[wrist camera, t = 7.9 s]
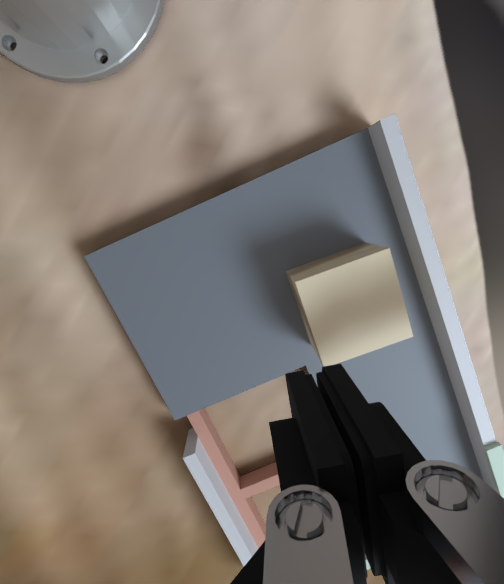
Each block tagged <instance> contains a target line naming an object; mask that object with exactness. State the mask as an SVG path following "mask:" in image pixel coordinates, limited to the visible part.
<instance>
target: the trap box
mask: <svg viewBox="0 0 504 584" xmlns="http://www.w3.org/2000/svg"><path fill="white" fill-rule="evenodd" d="M365 242H366V243H371V244H375V245H379V246H384V247H388V248H390V251H391V255H392V258H393V262H394V266H395V270H396V273H397V277H398V281H399V285H400V288H401V292H402V296H403V299H404V303H405V307H406V311H407V314H408V318H409V322H410V326H411V329H412V333H413V337H411V338H408V339H405V340H403V341H400V342H397V343H394V344H391V345H388V346H386V347H383V348H380V349H377V350H374V351H372V352H369V353H366V354H363V355H360V356H357V357H355V358H352V359H349V360H346V361H343V362H340V363H338V364H341V365H342V366H343V367H344V369H345V370H346V372H347V373H348V375H349V376H350V377H351V379H352V380H353V382H354V383H355V385H356V386H357V387H358V389H359V390H360V392H361V393H362V395H363V396H364V398H365V399H366V400H367V402H368V403H374V402H381V403H382V404H383V405H384V406H385V407H386V409H387V410H388V411H389V413H390V414H391V415H392V416H393V418H394V419H395V420H396V422H397V423H398V424H399V426H400V427H401V428H402V430H403V431H404V432H405V433H406V435H407V436H408V437H409V439H410V440H411V441H412V443H413V444H414V445H415V446H416V448H417V449H418V450H419V452H420V453H421V454H422V456H423V457H424V458H425V459H426V461H428V460H443V461H448V462H452V463H456V464H458V465H460V466H463V467H465V468H467V469H469V470H470V471H471V472H473V473H474V474H476V475H477V476H478V477H480V478H481V479H482V480H483V481H484V482H485V483H486V484H488V485H489V486H490V487H491V488H492V489H493V490H495V491H496V492H497V493H498V494H499V495H500V496H502V497H503V498H504V451H503V447H502V445H501V444H500V443H499V442H496V438H495V435H494V432H493V429H492V425H491V422H490V419H489V416H488V413H487V409H486V406H485V403H484V400H483V396H482V393H481V390H480V387H479V383H478V380H477V377H476V374H475V370H474V367H473V364H472V361H471V357H470V354H469V351H468V348H467V344H466V341H465V338H464V335H463V331H462V328H461V325H460V322H459V318H458V315H457V312H456V309H455V305H454V302H453V299H452V296H451V292H450V289H449V286H448V283H447V279H446V276H445V273H444V270H443V266H442V263H441V260H440V257H439V253H438V250H437V247H436V244H435V240H434V237H433V234H432V231H431V227H430V224H429V221H428V218H427V214H426V211H425V208H424V205H423V201H422V198H421V195H420V192H419V189H418V185H417V182H416V179H415V176H414V172H413V169H412V166H411V163H410V159H409V156H408V153H407V150H406V146H405V143H404V140H403V137H402V133H401V130H400V127H399V124H398V120H397V117H396V114H393V115H390V116H388V117H386V118H384V119H382V120H379V121H378V122H376V123H375V124H373V125H372V126H370V127H368V128H367V129H364V130H362V131H360V132H358V133H355V134H353V135H351V136H349V137H347V138H344V139H342V140H340V141H338V142H336V143H333V144H331V145H329V146H327V147H325V148H322V149H320V150H318V151H316V152H313V153H311V154H309V155H307V156H305V157H302V158H300V159H298V160H296V161H294V162H291V163H289V164H287V165H285V166H283V167H280V168H278V169H276V170H274V171H271V172H269V173H267V174H265V175H263V176H260V177H258V178H256V179H254V180H252V181H249V182H247V183H245V184H243V185H241V186H238V187H236V188H234V189H232V190H229V191H227V192H225V193H223V194H221V195H218V196H216V197H214V198H212V199H210V200H207V201H205V202H203V203H201V204H199V205H196V206H194V207H192V208H190V209H187V210H185V211H183V212H181V213H179V214H176V215H174V216H172V217H170V218H168V219H165V220H163V221H161V222H159V223H157V224H154V225H152V226H150V227H148V228H145V229H143V230H141V231H139V232H137V233H134V234H132V235H130V236H128V237H126V238H123V239H121V240H119V241H117V242H115V243H112V244H110V245H108V246H106V247H103V248H101V249H99V250H97V251H95V252H92V253H90V254H88V255H86V256H84V257H85V259H86V261H87V263H88V264H89V266H90V268H91V270H92V272H93V274H94V275H95V277H96V279H97V281H98V283H99V284H100V286H101V288H102V290H103V292H104V293H105V295H106V297H107V299H108V301H109V302H110V304H111V306H112V308H113V310H114V311H115V313H116V315H117V317H118V319H119V320H120V322H121V324H122V326H123V328H124V329H125V331H126V333H127V335H128V337H129V338H130V340H131V342H132V344H133V346H134V348H135V349H136V351H137V353H138V355H139V357H140V358H141V360H142V362H143V364H144V366H145V367H146V369H147V371H148V373H149V375H150V376H151V378H152V380H153V382H154V384H155V385H156V387H157V389H158V391H159V393H160V394H161V396H162V398H163V400H164V402H165V403H166V405H167V407H168V409H169V411H170V412H171V414H172V416H173V418H174V420H178V419H180V418H182V417H185V416H187V417H188V419H189V421H190V423H191V425H192V426H193V428H191V429H189V431H188V436H187V440H186V445H185V450H184V454H183V460H184V462H185V463H186V465H187V467H188V469H189V470H190V472H191V474H192V476H193V478H194V479H195V481H196V483H197V485H198V486H199V488H200V490H201V492H202V493H203V495H204V497H205V499H206V501H207V502H208V504H209V506H210V508H211V509H212V511H213V513H214V515H215V517H216V518H217V520H218V522H219V524H220V525H221V527H222V529H223V531H224V532H225V534H226V536H227V538H228V540H229V541H230V543H231V545H232V547H233V548H234V550H235V552H236V554H237V555H238V557H239V559H240V561H241V563H242V564H243V566H245V565H246V564H247V562H248V561H249V560H250V559H251V557H252V556H253V555H254V554H255V552H256V551H257V550H258V549H259V547H260V546H261V545H262V544H263V542H264V541H265V538H266V525H265V523H264V521H263V519H262V517H261V515H260V513H259V511H258V509H257V508H256V506H255V504H254V502H253V500H252V498H251V496H254V495H256V494H259V493H261V492H263V491H266V490H268V489H271V488H273V487H276V486H278V485H280V483H279V477H278V471H277V465H276V462H274V463H271V464H269V465H267V466H264V467H262V468H259V469H257V470H254V471H252V472H250V473H247V474H245V475H242V476H240V475H239V473H238V471H237V470H236V468H235V466H234V464H233V462H232V460H231V458H230V456H229V454H228V452H227V451H226V449H225V447H224V445H223V443H222V441H221V439H220V437H219V435H218V433H217V432H216V430H215V428H214V426H213V424H212V422H211V420H210V418H209V416H208V414H207V413H206V411H205V409H204V408H206V407H208V406H211V405H213V404H215V403H218V402H220V401H223V400H225V399H227V398H230V397H232V396H234V395H237V394H239V393H242V392H244V391H246V390H249V389H251V388H253V387H256V386H258V385H260V384H263V383H265V382H268V381H270V380H272V379H275V378H277V377H279V376H282V375H284V374H286V373H289V372H291V371H294V370H296V369H298V368H301V367H303V366H306V368H307V370H308V373H309V374H312V376H313V378H314V380H315V382H316V385H317V378H316V373H318V372H322V367H323V365H322V363H321V362H320V360H319V358H318V356H317V355H316V353H315V351H314V349H313V348H312V346H311V343H310V340H309V338H308V335H307V332H306V329H305V326H304V323H303V320H302V317H301V314H300V311H299V308H298V306H297V303H296V300H295V297H294V294H293V291H292V288H291V285H290V282H289V279H288V276H287V274H286V271H288V270H291V269H294V268H296V267H299V266H302V265H305V264H307V263H310V262H313V261H316V260H318V259H321V258H324V257H327V256H329V255H332V254H335V253H338V252H340V251H343V250H346V249H349V248H351V247H354V246H357V245H359V244H362V243H365ZM317 387H318V385H317ZM365 559H366V568H367V570H368V569H370V565H369V563H368V560H367V557H366V555H365Z"/></svg>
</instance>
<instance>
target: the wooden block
mask: <svg viewBox="0 0 504 584" xmlns="http://www.w3.org/2000/svg"><path fill="white" fill-rule="evenodd" d="M286 274H287V276H288V279H289V282H290V285H291V288H292V291H293V294H294V297H295V300H296V303H297V306H298V308H299V311H300V314H301V317H302V320H303V323H304V326H305V329H306V332H307V335H308V338H309V340H310V343H311V346H312V348H313V349H314V351H315V353H316V355H317V356H318V358H319V360H320V362H321V363H322V365H323V367H324V366H329V365H335V364H338V363H340V362H343V361H346V360H349V359H352V358H355V357H357V356H360V355H363V354H366V353H369V352H372V351H374V350H377V349H380V348H383V347H386V346H388V345H391V344H394V343H397V342H400V341H403V340H405V339H408V338H411V337H413V333H412V329H411V326H410V322H409V318H408V314H407V311H406V307H405V303H404V299H403V296H402V292H401V288H400V285H399V281H398V277H397V273H396V270H395V266H394V262H393V258H392V255H391V251H390V248H388V247H384V246H379V245H375V244H371V243H366V242H365V243H362V244H359V245H357V246H354V247H351V248H349V249H346V250H343V251H340V252H338V253H335V254H332V255H329V256H327V257H324V258H321V259H318V260H316V261H313V262H310V263H307V264H305V265H302V266H299V267H296V268H294V269H291V270H288V271H286Z"/></svg>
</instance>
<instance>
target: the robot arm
mask: <svg viewBox="0 0 504 584" xmlns="http://www.w3.org/2000/svg"><path fill="white" fill-rule="evenodd" d="M163 4H164V0H0V52H1V53H2V54H3V55H4V56H6V57H7V58H8V59H10V60H11V61H13V62H14V63H16V64H17V65H19V66H20V67H22V68H24V69H25V70H27V71H30V72H32V73H34V74H36V75H39V76H41V77H43V78H47V79H51V80H55V81H59V82H68V83H84V82H90V81H96V80H100V79H103V78H105V77H108V76H110V75H112V74H115V73H117V72H118V71H120V70H121V69H123V68H124V67H126V66H127V65H128V64H130V63H131V62H132V61H133V60H134V59H135V58H136V57H137V56H138V55H139V54H140V53H141V52H142V51H143V50H144V48H145V47H146V45H147V44H148V42H149V40H150V39H151V37H152V35H153V34H154V32H155V30H156V27H157V24H158V22H159V19H160V16H161V14H162V10H163ZM15 47H16V48H15ZM105 58H108V61H107V62H106V63H105V64H103V60H104V59H105ZM285 375H286V382H287V389H288V395H289V401H290V407H291V413H292V418H289V419H284V420H278V421H273V422H269V425H270V430H271V436H272V442H273V448H274V454H275V459H276V465H277V471H278V477H279V483H280V488H281V492H280V493H279V494H278V495H277V496H276V497H275V498H274V499H273V501H272V502H271V504H270V505H269V509H268V513H267V521H266V538H265V541H264V542H263V544H262V545H261V546H260V547H259V549H258V550H257V551H256V552H255V554H254V555H253V556H252V557H251V559H250V560H249V561H248V562H247V564H246V565H245V566H244V567H243V569H242V570H241V571H240V572H239V574H238V575H237V576H236V577H235V579H234V580H233V581H232V582H231V583H230V584H367V582H366V578H367V568H366V559H365V555H366V557H367V560H368V563H369V565H370V568H371V570H372V573H373V575H374V576H378V575H382V576H383V579H384V581H385V583H386V584H504V498H503V497H502V496H500V495H499V494H498V493H497V492H496V491H495V490H493V489H492V488H491V487H490V486H489V485H488V484H486V483H485V482H484V481H483V480H482V479H481V478H480V477H478V476H477V475H476V474H474V473H473V472H471V471H470V470H469V469H467V468H465V467H463V466H460V465H458V464H456V463H452V462H448V461H443V460H428V461H426V459H425V458H424V457H423V456H422V454H421V453H420V452H419V450H418V449H417V448H416V446H415V445H414V444H413V443H412V441H411V440H410V439H409V437H408V436H407V435H406V433H405V432H404V431H403V430H402V428H401V427H400V426H399V424H398V423H397V422H396V420H395V419H394V418H393V416H392V415H391V414H390V413H389V411H388V410H387V409H386V407H385V406H384V405H383V404H382V403H381V402H374V403H368V402H367V400H366V399H365V398H364V396H363V395H362V393H361V392H360V390H359V389H358V387H357V386H356V385H355V383H354V382H353V380H352V379H351V377H350V376H349V375H348V373H347V372H346V370H345V369H344V367H343V366H342V365H341V364H335V365H329V366H324V367H322V372H318V373H316V378H317V385H318V387H317V385H316V382H315V380H314V378H313V376H312V374H307V375H305V373H304V371H303V370H302V371H297V372H292V373H286V374H285Z"/></svg>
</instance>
